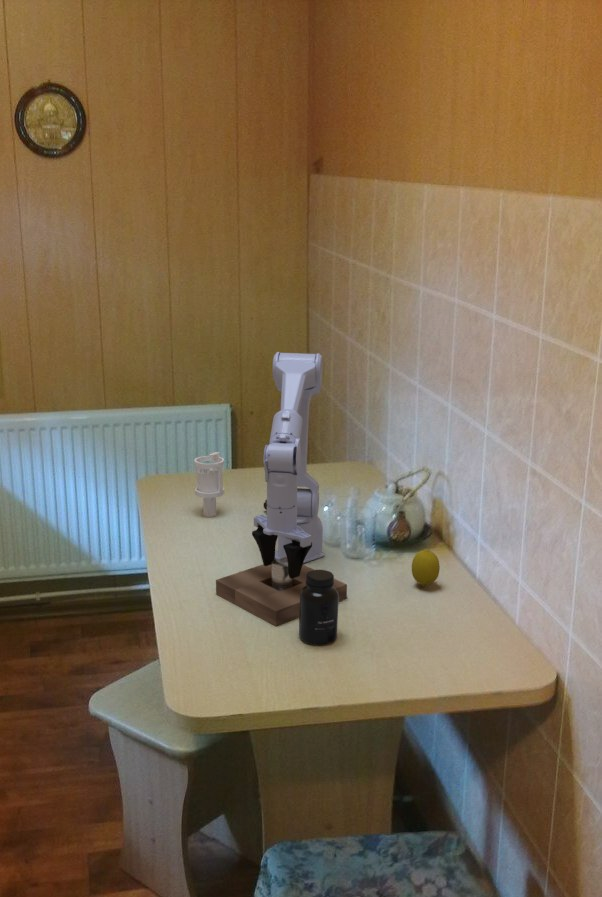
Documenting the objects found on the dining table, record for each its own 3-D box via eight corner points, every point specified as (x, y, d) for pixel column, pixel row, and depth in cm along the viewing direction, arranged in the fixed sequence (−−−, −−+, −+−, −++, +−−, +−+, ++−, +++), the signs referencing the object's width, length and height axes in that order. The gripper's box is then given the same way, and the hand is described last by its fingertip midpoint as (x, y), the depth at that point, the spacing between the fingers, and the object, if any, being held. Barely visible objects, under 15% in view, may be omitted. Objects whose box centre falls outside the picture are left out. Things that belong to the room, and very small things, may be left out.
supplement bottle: (324, 650, 160) (326, 586, 157) (291, 639, 164) (292, 576, 161) (344, 634, 166) (346, 572, 163) (311, 624, 169) (312, 563, 166)
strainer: (230, 513, 226) (229, 454, 222) (212, 521, 220) (211, 461, 216) (207, 507, 229) (206, 449, 225) (189, 516, 224) (188, 456, 219)
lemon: (441, 583, 188) (444, 546, 185) (433, 594, 183) (435, 556, 181) (415, 578, 190) (417, 542, 188) (406, 588, 185) (408, 551, 183)
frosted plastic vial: (284, 590, 184) (285, 557, 182) (296, 597, 181) (296, 564, 179) (267, 594, 182) (267, 561, 180) (278, 602, 178) (279, 568, 176)
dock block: (285, 570, 193) (285, 556, 192) (346, 598, 180) (347, 584, 179) (216, 594, 181) (215, 579, 181) (276, 626, 169) (276, 611, 168)
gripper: (241, 498, 178) (241, 564, 182) (291, 519, 168) (290, 588, 172) (269, 491, 183) (269, 555, 187) (319, 510, 172) (318, 578, 176)
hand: (281, 570), depth 179 cm, fingers open, 7 cm apart
